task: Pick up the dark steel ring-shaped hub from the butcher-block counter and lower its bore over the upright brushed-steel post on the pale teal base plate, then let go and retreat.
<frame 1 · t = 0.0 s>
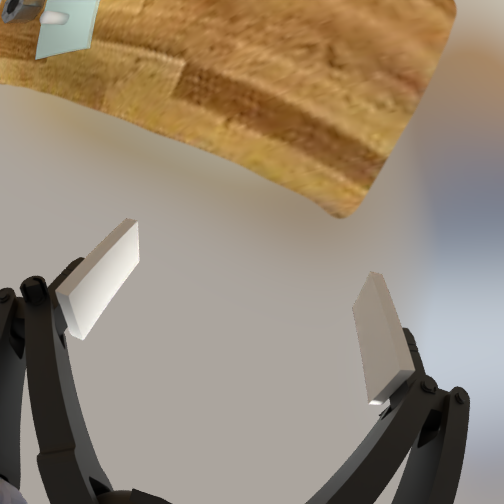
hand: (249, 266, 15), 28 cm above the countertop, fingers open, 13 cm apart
hub: (33, 5, 24), on the countertop
post block: (68, 19, 28), on the countertop
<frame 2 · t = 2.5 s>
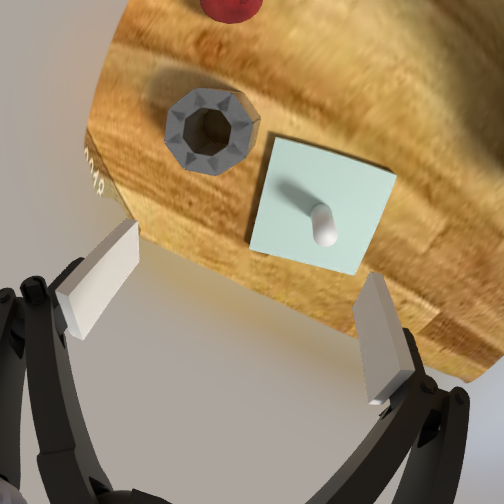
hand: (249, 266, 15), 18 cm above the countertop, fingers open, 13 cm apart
hub: (222, 124, 29), on the countertop
onion: (239, 8, 21), on the countertop
post block: (320, 209, 32), on the countertop
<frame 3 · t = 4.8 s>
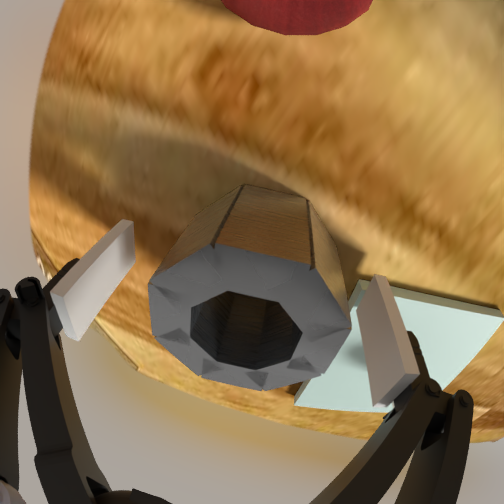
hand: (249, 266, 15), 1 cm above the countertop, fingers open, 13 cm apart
hub: (260, 256, 16), on the countertop
post block: (399, 362, 20), on the countertop
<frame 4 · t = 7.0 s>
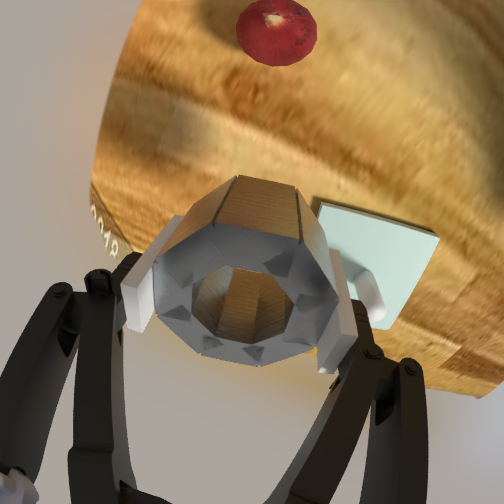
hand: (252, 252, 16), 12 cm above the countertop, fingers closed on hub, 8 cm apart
hub: (253, 242, 17), point 10 cm above the countertop, touching gripper
onion: (277, 40, 19), on the countertop
post block: (361, 273, 30), on the countertop
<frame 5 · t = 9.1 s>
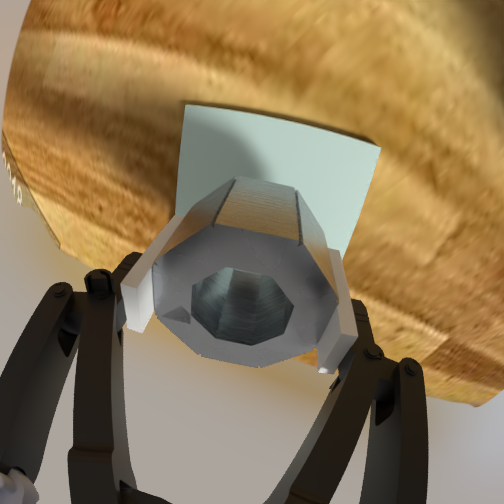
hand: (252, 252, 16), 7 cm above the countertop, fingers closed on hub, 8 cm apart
hub: (253, 243, 17), point 6 cm above the countertop, touching gripper
post block: (265, 206, 22), on the countertop
when the fingers open (2 cm above the countertop, at t = 11.3 s): hub stays where it is, resting on post block.
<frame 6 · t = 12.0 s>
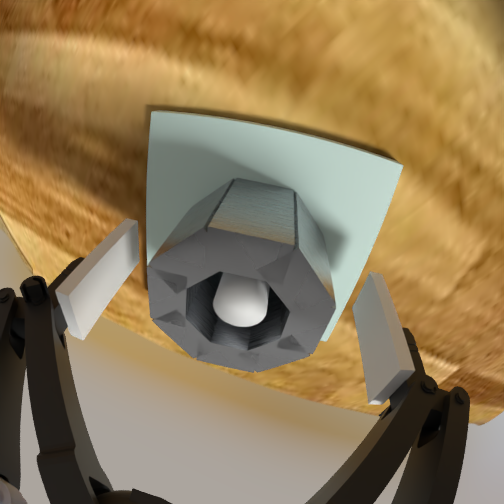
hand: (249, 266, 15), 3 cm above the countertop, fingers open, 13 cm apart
hub: (252, 245, 17), point 1 cm above the countertop, touching post block
post block: (256, 237, 18), on the countertop
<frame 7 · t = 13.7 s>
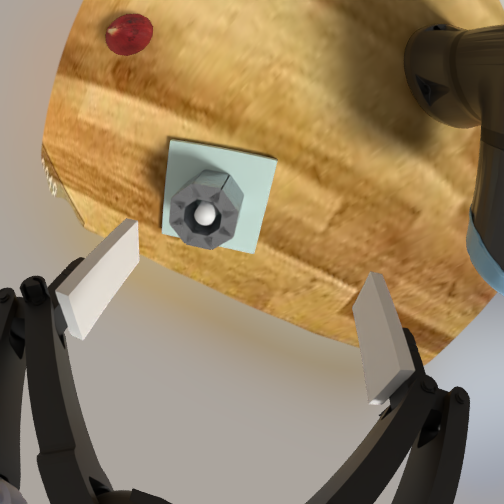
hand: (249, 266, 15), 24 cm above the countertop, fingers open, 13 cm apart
hub: (212, 199, 38), point 1 cm above the countertop, touching post block
onion: (142, 38, 27), on the countertop
post block: (215, 196, 38), on the countertop
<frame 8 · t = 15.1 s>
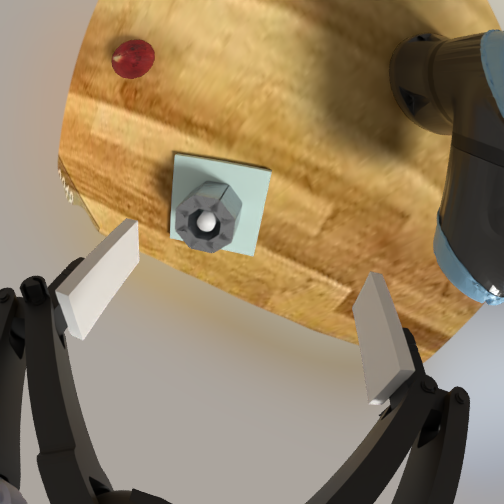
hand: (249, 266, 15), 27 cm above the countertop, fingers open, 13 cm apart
hub: (214, 207, 42), point 1 cm above the countertop, touching post block
onion: (146, 60, 32), on the countertop
post block: (217, 204, 43), on the countertop
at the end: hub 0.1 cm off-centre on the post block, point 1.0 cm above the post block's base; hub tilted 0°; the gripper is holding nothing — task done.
